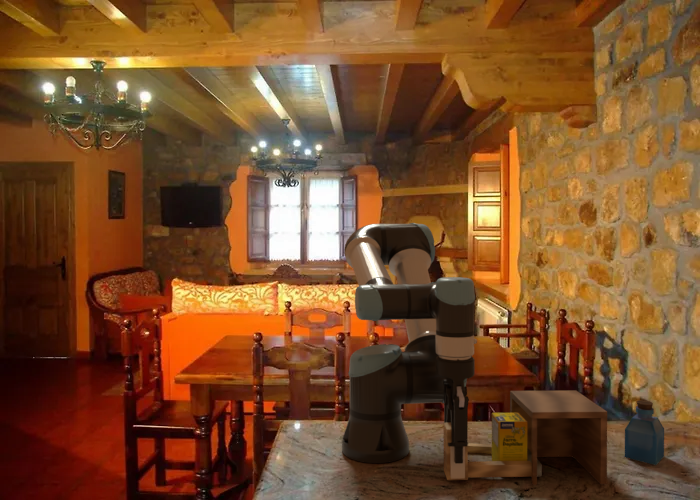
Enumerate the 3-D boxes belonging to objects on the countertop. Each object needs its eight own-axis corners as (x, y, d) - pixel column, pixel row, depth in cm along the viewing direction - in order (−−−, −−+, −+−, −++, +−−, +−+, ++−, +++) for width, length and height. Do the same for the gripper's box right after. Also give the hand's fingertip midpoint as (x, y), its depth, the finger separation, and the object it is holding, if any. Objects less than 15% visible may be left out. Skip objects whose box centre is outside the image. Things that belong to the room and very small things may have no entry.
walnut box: (532, 484, 109) (532, 412, 108) (510, 454, 124) (510, 390, 123) (606, 484, 109) (607, 411, 108) (575, 454, 124) (575, 390, 123)
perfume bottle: (624, 457, 122) (625, 402, 122) (633, 449, 126) (633, 396, 126) (656, 465, 118) (656, 408, 117) (664, 456, 122) (664, 402, 122)
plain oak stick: (458, 453, 126) (458, 445, 126) (458, 450, 127) (458, 442, 127) (513, 456, 124) (513, 448, 124) (512, 453, 125) (512, 445, 125)
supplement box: (528, 474, 113) (528, 421, 113) (498, 475, 113) (498, 421, 113) (519, 462, 119) (519, 411, 119) (491, 463, 119) (491, 412, 119)
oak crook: (447, 480, 109) (446, 429, 109) (437, 456, 121) (437, 410, 121) (543, 478, 109) (543, 428, 109) (524, 454, 121) (524, 409, 121)
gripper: (484, 365, 102) (484, 492, 103) (465, 346, 119) (465, 455, 120) (443, 366, 102) (443, 492, 103) (429, 347, 119) (430, 455, 120)
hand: (455, 472), depth 111 cm, fingers closed on oak crook, 4 cm apart
